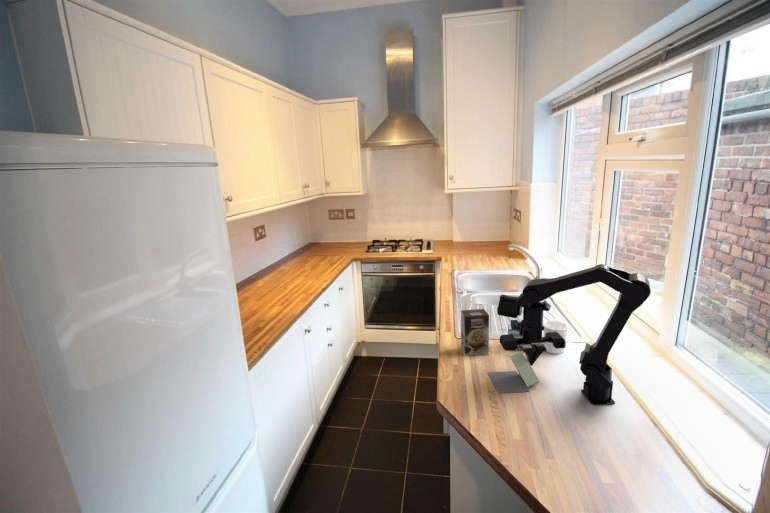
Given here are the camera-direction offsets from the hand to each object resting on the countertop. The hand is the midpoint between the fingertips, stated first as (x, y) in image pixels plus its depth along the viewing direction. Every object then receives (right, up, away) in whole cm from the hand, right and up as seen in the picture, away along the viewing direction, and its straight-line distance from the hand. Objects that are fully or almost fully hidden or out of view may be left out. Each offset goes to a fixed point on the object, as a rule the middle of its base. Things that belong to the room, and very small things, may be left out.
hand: (530, 365), depth 112 cm
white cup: (+16, 0, +18) cm, 25 cm away
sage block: (0, -5, +1) cm, 5 cm away
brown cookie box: (-13, -2, +21) cm, 24 cm away
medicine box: (+4, 0, +22) cm, 22 cm away
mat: (-7, -6, +1) cm, 9 cm away
